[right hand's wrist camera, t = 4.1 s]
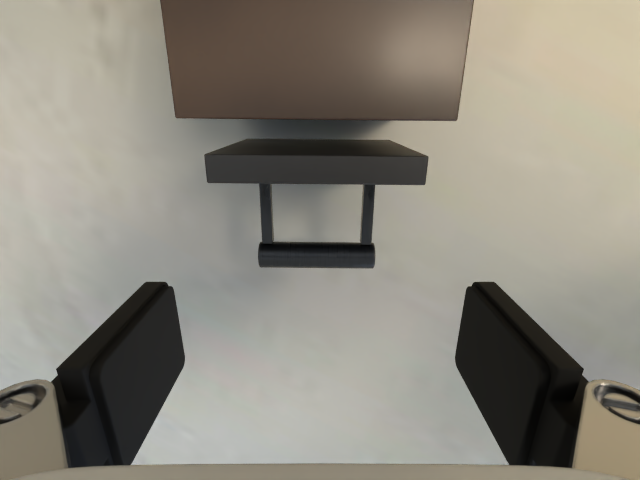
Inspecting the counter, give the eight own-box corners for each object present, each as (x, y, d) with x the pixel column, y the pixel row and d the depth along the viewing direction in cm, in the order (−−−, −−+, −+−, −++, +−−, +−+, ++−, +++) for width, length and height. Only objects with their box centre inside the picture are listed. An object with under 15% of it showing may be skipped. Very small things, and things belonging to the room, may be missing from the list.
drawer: (382, 242, 25) (411, 306, 17) (252, 241, 25) (219, 304, 17) (421, -265, 16) (523, -649, 8) (220, -267, 16) (118, -652, 8)
